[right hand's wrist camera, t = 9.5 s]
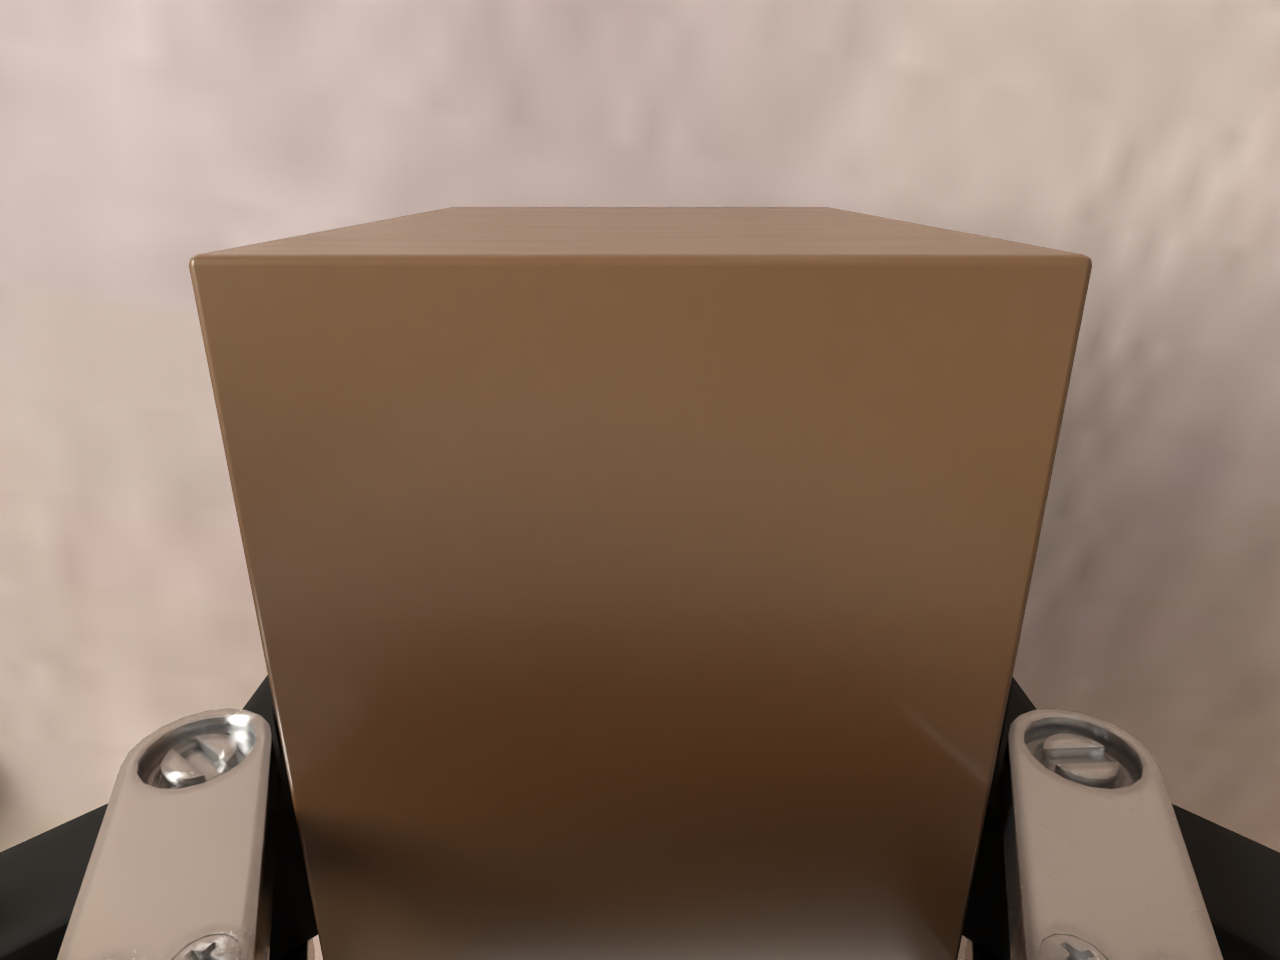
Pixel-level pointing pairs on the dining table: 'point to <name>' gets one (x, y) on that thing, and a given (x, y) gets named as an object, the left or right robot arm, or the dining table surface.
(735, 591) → the post
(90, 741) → the dining table surface
